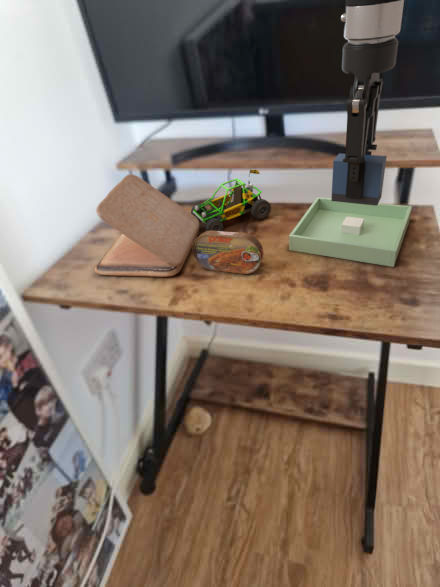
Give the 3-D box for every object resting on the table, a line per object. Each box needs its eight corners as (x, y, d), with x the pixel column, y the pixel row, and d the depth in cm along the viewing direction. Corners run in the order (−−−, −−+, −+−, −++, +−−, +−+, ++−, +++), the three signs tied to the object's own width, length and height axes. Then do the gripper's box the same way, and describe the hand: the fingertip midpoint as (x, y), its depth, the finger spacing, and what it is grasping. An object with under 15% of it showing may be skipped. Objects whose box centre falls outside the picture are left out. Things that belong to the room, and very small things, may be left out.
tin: (194, 268, 87) (188, 234, 82) (200, 260, 89) (194, 226, 84) (261, 276, 81) (259, 240, 76) (266, 268, 83) (264, 232, 78)
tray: (409, 220, 91) (412, 206, 89) (393, 267, 78) (396, 251, 76) (316, 210, 101) (317, 196, 98) (289, 250, 88) (288, 235, 86)
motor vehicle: (191, 220, 105) (184, 182, 98) (256, 199, 110) (253, 161, 103) (208, 238, 96) (202, 197, 90) (278, 215, 101) (277, 174, 95)
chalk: (363, 226, 90) (364, 218, 89) (359, 235, 88) (360, 227, 87) (345, 224, 92) (346, 216, 91) (341, 232, 90) (341, 224, 88)
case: (180, 279, 84) (164, 209, 74) (90, 276, 89) (65, 211, 79) (204, 230, 99) (193, 167, 90) (127, 231, 105) (109, 171, 95)
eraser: (381, 197, 72) (386, 155, 68) (377, 205, 70) (382, 163, 65) (336, 192, 76) (338, 153, 71) (331, 201, 73) (333, 160, 69)
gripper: (357, 31, 65) (347, 172, 79) (327, 51, 54) (322, 210, 68) (408, 27, 61) (387, 175, 76) (387, 48, 50) (368, 216, 65)
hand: (356, 191), depth 72 cm, fingers closed on eraser, 3 cm apart
